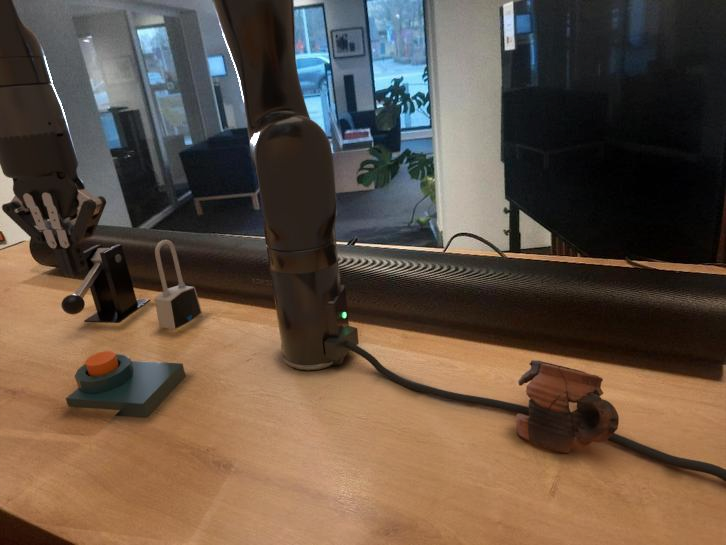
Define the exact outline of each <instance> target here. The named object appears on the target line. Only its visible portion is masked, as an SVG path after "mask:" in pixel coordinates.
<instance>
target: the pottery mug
mask: <svg viewBox="0 0 726 545" xmlns="http://www.w3.org/2000/svg"><path fill="white" fill-rule="evenodd" d="M529 366H530V368H529V370H527V371H526V372H525V373H523V374H522V375H521V376H520V378H519V379H518V381H517V384H518V386H521V387H522V386H523V385H524V384H527V383H528V384H527V385H526V386H525V387H526V389H525V392H526V395H527V397H528V398H529V400H528V407H529V416H528V415H524V414H521V413H516V417H515V418H516V419H515V420H516V434H517V435H518V436H520V437H521V438H523V439H525V440H527V441H530V442H531V443H533V444H536V445H538V446H540V447H544V448H545V449H548V450H551V451H555V452H560V453H564V454H568V453H570V451H571V446H572V444H573V443H574V440H575V439H576V440H577V442H578V443H579V444H580V445H582V446H585V447H586V446H588V445H591V444H593V443H604V442H605V441H608V440H607V439H609V438H610V437H611V436H612V435H613V434H614V433H615V434H616V431H617V430H618V429H619V423H620V419H619V418H620V417H619V414H618V411H617V409H616V408H615V406H614V405H613V404H612V402H610V401H609V400H606V399H603V398H602V397H601V396H603V395H604V391H603V390H602V388H601V386H602V382H604V378H603V377H601V376H599V375H596V374H591V373H587V372H586V371H583V370H579V369H575V368H571V367H567V366H562V365H559V364H554V363H550V362H546V361H541V360H535V359H531V360H530V362H529ZM570 403H572V404H575V403H576V409H575V410H573V411H571V409H570Z"/></svg>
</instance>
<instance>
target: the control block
mask: <svg viewBox="0 0 726 545" xmlns="http://www.w3.org/2000/svg"><path fill="white" fill-rule="evenodd" d="M115 354H116V357H117V361H118V364H119V366H118V368H117V369H115V370H114V371H112V372H110V373H107V374H105V375H100V376H90V375H89V374H88V371H87V367H86V364H85V363H84V364H83V365H82V366H79V368H78V369H77V370H76V372H75V374H74V380H75V382H76V384H77V388H76V389H75V390H74V391H73V392H71V393H70V394H69V395H68V396H67V397H65V400H66V404H67V407H70V408H71V407H72V408H85V409H99V410H111V411H118V412H116V413H115V415H114V416H116V417H128V418H141V419H147V418H149V417H150V416H151V414H152V413H153V412H154V411H155V410H156V409H157V408H158V407H159V406H160V405H161V404H162V403H163V402H164V401H165V400H166V398H167V397H168V396H169V395H170V394H171V393H172V392H173V391H174V390H175V389H176V388H177V387H178V386H179V384H180V383H181V382H182V381H184V379H185V378H186V377H187V376H186V372H185V367H184V363H183V362H182V363H181V362H180V363H179V362H161V361H144V360H143V361H141V360H132V359H131V357H129V356H128V355H126V354H119V353H118V354H117V353H115Z"/></svg>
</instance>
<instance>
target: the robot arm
mask: <svg viewBox="0 0 726 545" xmlns="http://www.w3.org/2000/svg"><path fill="white" fill-rule="evenodd" d="M212 5H213V7H214V11H215V14H216V17H217V20H218V23H219V26H220V29H221V31H222V36H223V38H224V41H225V44H226V47H227V49H228V52H229V54H230V57H231V60H232V62H233V65H234V68H235V71H236V74H237V78H238V82H239V87H240V91H241V96H242V101H243V108H244V114H245V120H246V127H247V136H248V141H249V142H248V144H249V154H250V158H251V161H252V164H253V167H254V168H255V171H256V177H257V184H258V190H259V197H260V202H261V203H260V204H261V210H262V219H263V235H264V238H265V239H264V240H265V246H266V252H267V258H268V266H269V273H270V279H271V285H272V292H273V298H274V305H275V311H276V312H275V313H276V317H277V324H278V332H279V336H280V343H281V344H280V345H281V355H282V360H283V362H284V364H286V365H287V366H289V367H290V368H292V369H296V370H300V371H316V370H322V369H326V368H329V367H332V366H342V365H343V362H344V360H345V358H346V356H347V354H348V352H350V351H351V352H353V353H355V354H356V355H359V356H360V357H362V358H363V359H365V360H366V361H367V362H368V363H370V365H372V366H373V368H374V369H375V370H376V371H377V372H379V373H380V374H381V375H382V376H383V377H385V378H387V379H389V380H390V381H392V382H394V383H396V384H398V385H401V386H403V387H405V388H407V389H411V390H414V391H417V392H420V393H424V394H426V395H431V396H434V397H437V398H441V399H445V400H448V401H453V402H459V403H465V404H470V405H477V406H482V407H488V408H494V409H499V410H502V411H508V412H510V413H511V412H512V413H515V414H519V413H521V414H523V415H526V416H529V406H526V405H521V404H517V403H513V402H508V401H504V400H499V399H494V398H489V397H484V396H476V395H469V394H464V393H458V392H453V391H449V390H445V389H440V388H437V387H434V386H430V385H426V384H422V383H419V382H416V381H412V380H409V379H407V378H405V377H402V376H401V375H398V374H396V373H394V372H393V371H391V370H390V369H388V368H386V367H385V366H384V365H383V364H382V363H381V362H380V361H378V359H377V358H376V357H375V356H374V355H372V354H371V353H369V352H368V351H367V350H366V349H364V348H362V347H360V346H359V342H360V341H359V332H358V327H355V326H351V325H350V323H349V312H348V301H347V291H346V286H345V285H344V284H341V274H340V266H339V256H338V246H337V234H336V222H337V217H338V205H337V204H338V202H337V190H336V179H335V166H334V156H333V150H332V146H331V145H332V144H331V142H330V140H329V138H328V135H327V133H326V131H325V130H324V129H323V128H322V127H321V125H319V124H318V122H315V121H314V120H313V119H312V118H311V117H310V114H309V110H308V108H307V105H306V101H305V96H304V93H303V89H302V85H301V82H300V76H299V72H298V67H297V66H298V65H297V57H296V23H295V22H296V21H295V1H294V0H212ZM78 166H79V159H78V156H77V152H76V148H75V145H74V142H73V139H72V135H71V131H70V129H69V125H68V122H67V118H66V115H65V112H64V109H63V106H62V102H61V100H60V98H59V96H58V94H57V91H56V89H55V86H54V84H53V80H52V76H51V73H50V70H49V67H48V63H47V60H46V56H45V52H44V50H43V46H42V45H41V42H40V40H39V38H38V36H37V35H36V34H35V33H34V31H32V29H30V27H28V26H27V25H25V23H24V22H23V21H22V19H21V18H20V16H19V12H18V10H17V8H16V5H15V4H14V0H0V169H1V171H2V174H3V176H4V177H6V178H8V179H9V178H10V179H12V192H13V194H14V196H13V197H12V199H11V201H10V202H6V203H3V204H2V205H1V209H2V211H3V213H5V215H7V217H8V218H10V219H11V220H12V222H14V223H15V224H16V225H17V226H18V227H19V228H20V229H21V230H23V232H24V233H25V234H27V236H28V237H30V238H31V239H32V240H33V241H34V242H35V243H36V244H46V245H48V247H49V248H51V249H52V250H53V253H54V255H55V259H56V263H57V265H58V268H59V269H60V271H61V272H62V274H63V275H64V276H65V277H78V276H80V275H81V274H83V273H85V271H86V268H87V261H86V258H85V255H84V252H83V251H84V249H83V245H82V243H83V241H85V240H87V239H90V238H92V237H93V236H95V232H96V230H97V228H98V225H99V223H100V221H101V217H102V215H103V212H104V210H105V208H106V205H107V199H106V198H105V197H104V196H102V195H99V196H95V195H93V194H91V193H90V192H89V191H87V190H86V186H85V183H84V182H83V180H82V179H81V178H80V177H79V175H78V172H77V171H78V170H77V169H78ZM606 441H609V442H610V443H613V444H616V445H618V446H621V447H622V448H625V449H627V450H631V451H632V452H635V453H637V454H640V455H642V456H644V457H647V458H649V459H652V460H655V461H658V462H660V463H662V464H665V465H668V466H671V467H674V468H679V469H683V470H687V471H694V472H699V473H704V474H707V475H710V476H714V477H717V478H719V479H720V480H722V481H724V482H726V468H723V467H721V466H719V465H716V464H713V463H709V462H706V461H700V460H695V459H690V458H684V457H679V456H675V455H673V454H669V453H666V452H663V451H660V450H657V449H655V448H653V447H650V446H647V445H644V444H642V443H639V442H638V441H634V440H632V439H630V438H628V437H626V436H622V435H620V434H617V433H616V432H615V433H614V434H613V435H612V436H611V437H610V438H609V439H607V440H606Z"/></svg>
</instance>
